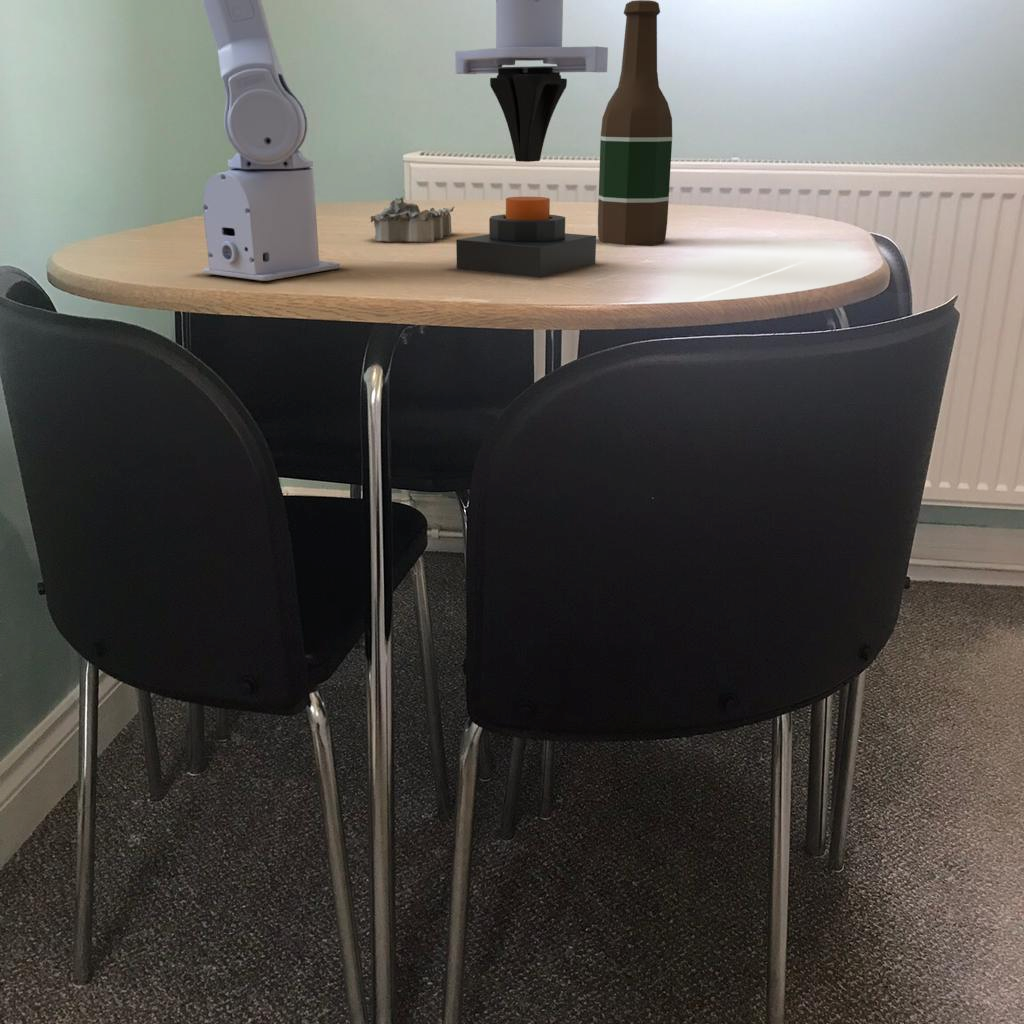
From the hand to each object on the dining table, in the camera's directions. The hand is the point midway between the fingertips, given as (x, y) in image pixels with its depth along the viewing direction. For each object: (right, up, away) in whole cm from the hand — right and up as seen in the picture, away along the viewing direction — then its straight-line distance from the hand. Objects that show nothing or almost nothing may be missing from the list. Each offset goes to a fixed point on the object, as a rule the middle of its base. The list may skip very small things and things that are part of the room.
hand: (527, 161), depth 91 cm
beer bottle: (+12, -2, +22) cm, 25 cm away
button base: (0, -9, +4) cm, 9 cm away
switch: (0, -5, +2) cm, 5 cm away
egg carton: (-12, 0, +25) cm, 28 cm away
